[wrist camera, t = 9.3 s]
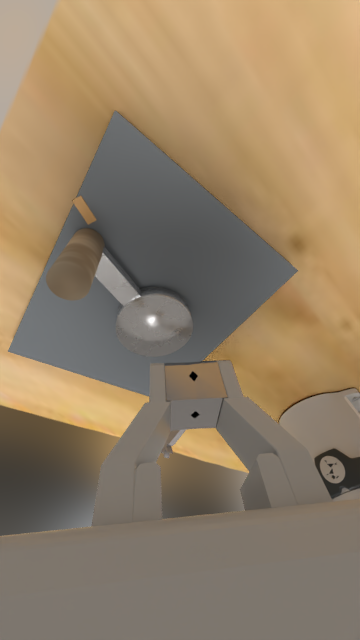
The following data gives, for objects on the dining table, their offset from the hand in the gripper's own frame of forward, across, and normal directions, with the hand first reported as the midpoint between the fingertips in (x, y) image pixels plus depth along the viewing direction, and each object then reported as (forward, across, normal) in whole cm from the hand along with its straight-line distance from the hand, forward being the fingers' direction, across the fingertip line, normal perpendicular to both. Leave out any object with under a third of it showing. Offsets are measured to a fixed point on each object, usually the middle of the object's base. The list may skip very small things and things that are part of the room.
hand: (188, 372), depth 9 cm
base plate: (+17, +2, +8) cm, 19 cm away
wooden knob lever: (+15, +3, +6) cm, 16 cm away
